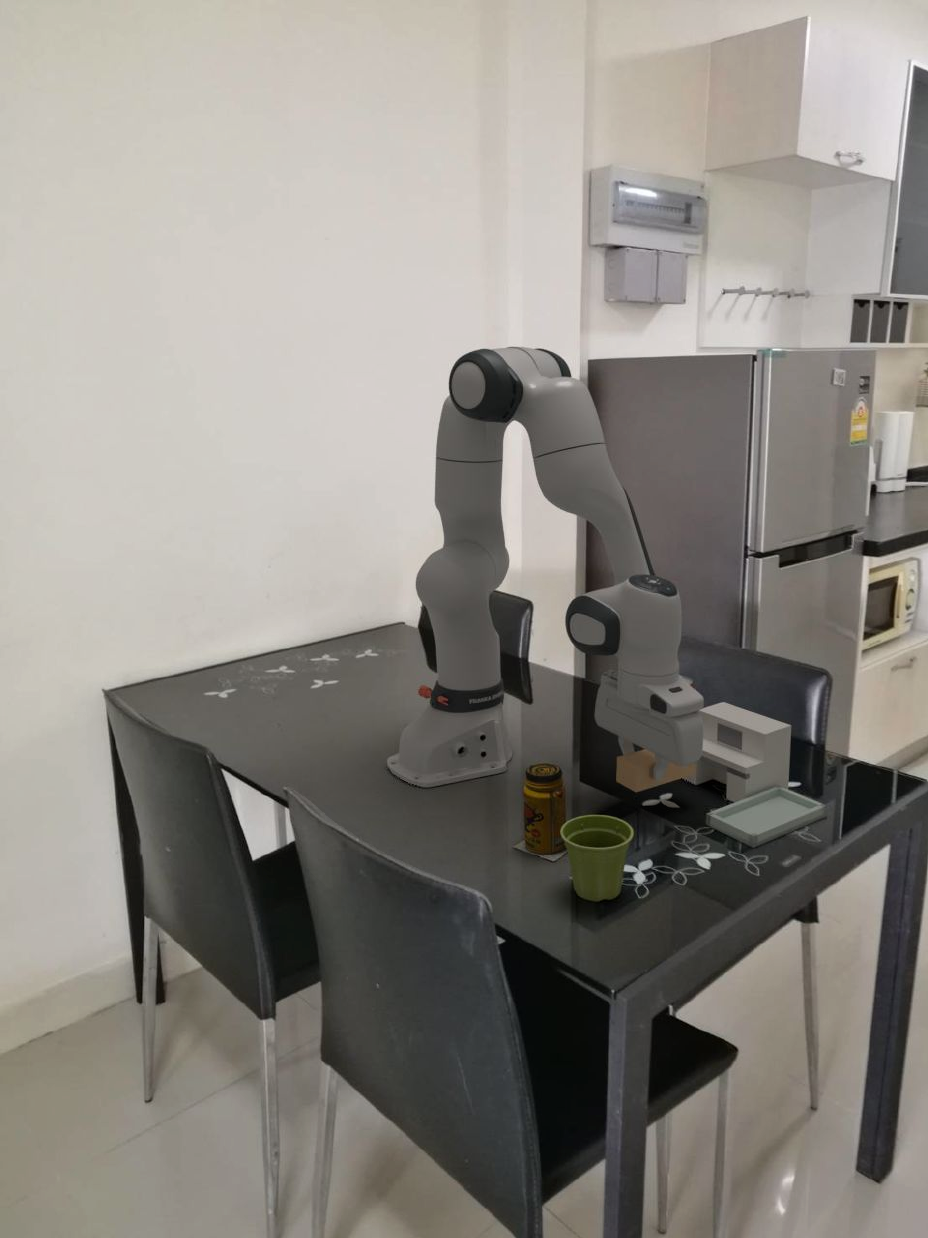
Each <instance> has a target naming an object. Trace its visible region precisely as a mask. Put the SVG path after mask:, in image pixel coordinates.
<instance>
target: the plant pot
mask: <svg viewBox="0 0 928 1238" xmlns="http://www.w3.org/2000/svg"><path fill="white" fill-rule="evenodd" d="M560 833H561V837H562V839H563V840H564V842H565V846H566V848H567V851H568V852H567V854H568V862H569V866H570V872H571V878H572V884H573V888H574V889H573V890H574V891H575V892H576V895H577V896H578V897H580V898H581V899H584V900H586V901H590V902H600V901H603V900H609V901H610V900H614V899H615V898H616V897H618V896H619V895H620V894H621V890H622V886H623V885H622V884H623V878H624V871H625V864H626V857H627V852H628V849H629V847H630V844H631V842H632V840H633V839H634V833H635V831H634V828H633V827H632V826H631V825H630V824H629V823H628V822H626V821H625V820H623V819H621V818H618V817H616V816H611V815H606V814H605V815H604V814H601V815H600V814H588V815H581V816H577V817H573V818H572V819H569V820H566V823H565V824H564V825H563V826H562V828H561V830H560Z"/></svg>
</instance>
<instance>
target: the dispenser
mask: <svg viewBox="0 0 928 1238" xmlns="http://www.w3.org/2000/svg"><path fill="white" fill-rule="evenodd" d="M698 713H699V714H700V715H701V718H702V721H703V748H702V755H701V758H700V759H699V760H698V761H697V762H696V768H695V774H694V775H690V776H687V777H684V778H682V779H681V780H683V779H684V781H686V780H687V781H686V782H688V781H689V783H690V782H691V784H693V785H695V786H698V785H700V784H703V783H706V782H709V781H712V780H715V781H717V782H720V783H722V784H725V785H726V796H725V797H726V800H729V801H731V802H732V803H735V802H738V801H740V800H743V799H745V798H748V797H751V796H753V795H756V794H758V793H761V792H763V791H766V790H769V789H771V788H774V787H776V786H781V787H783V788H785V789H788V790H789V776H790V758H791V741H792V739H791V735H792V725H791V724H788V723H785V722H782V721H779V720H777V719H773V718H771V717H768V716H765V715H762V714H759V713H756V712H755V711H754V712H753V711H750V710H747V709H744V708H742V707H738V706H736V705H733V704H730V703H728V702H725V701H722V702H719V703H718V702H717V703H716V704H712V705H709V706H706V707H703V709H701V710H698Z"/></svg>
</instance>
